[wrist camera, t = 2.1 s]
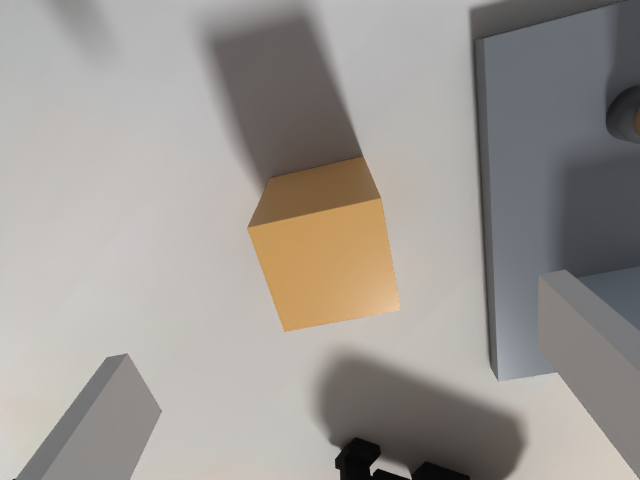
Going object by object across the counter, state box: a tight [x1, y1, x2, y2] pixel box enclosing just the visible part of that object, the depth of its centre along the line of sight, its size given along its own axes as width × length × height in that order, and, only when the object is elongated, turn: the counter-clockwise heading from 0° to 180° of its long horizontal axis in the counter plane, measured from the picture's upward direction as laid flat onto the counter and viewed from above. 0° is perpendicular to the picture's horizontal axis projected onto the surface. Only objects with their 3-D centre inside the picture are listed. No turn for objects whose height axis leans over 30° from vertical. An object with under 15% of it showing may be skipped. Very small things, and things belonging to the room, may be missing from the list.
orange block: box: [247, 156, 401, 332], centre depth 19 cm, size 5×5×7 cm
